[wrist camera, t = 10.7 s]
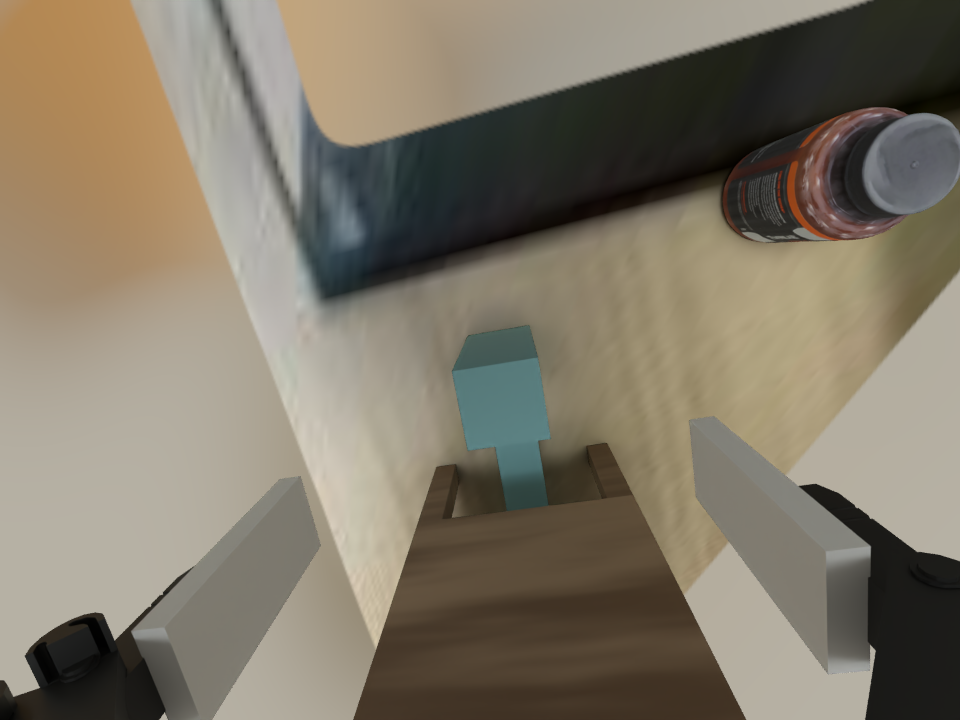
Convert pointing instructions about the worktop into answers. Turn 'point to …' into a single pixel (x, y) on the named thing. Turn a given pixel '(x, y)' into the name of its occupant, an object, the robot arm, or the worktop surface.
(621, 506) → the cabinet
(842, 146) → the supplement bottle
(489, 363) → the teal stepped block
